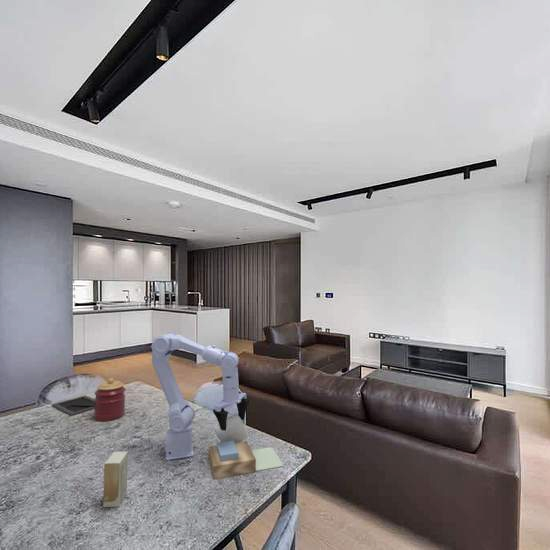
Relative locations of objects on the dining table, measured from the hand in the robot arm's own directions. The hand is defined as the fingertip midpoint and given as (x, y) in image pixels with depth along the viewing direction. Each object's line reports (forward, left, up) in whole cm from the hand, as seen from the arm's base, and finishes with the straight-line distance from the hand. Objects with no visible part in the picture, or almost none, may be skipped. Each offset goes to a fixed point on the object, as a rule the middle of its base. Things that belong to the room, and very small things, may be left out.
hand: (232, 424), depth 114 cm
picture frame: (-65, +70, -12) cm, 96 cm away
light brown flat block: (-1, -5, -11) cm, 13 cm away
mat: (+11, -5, -11) cm, 16 cm away
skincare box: (-36, -13, -12) cm, 40 cm away
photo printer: (+3, +6, -9) cm, 11 cm away
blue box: (-3, -5, -7) cm, 9 cm away
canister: (-48, +52, -12) cm, 72 cm away
